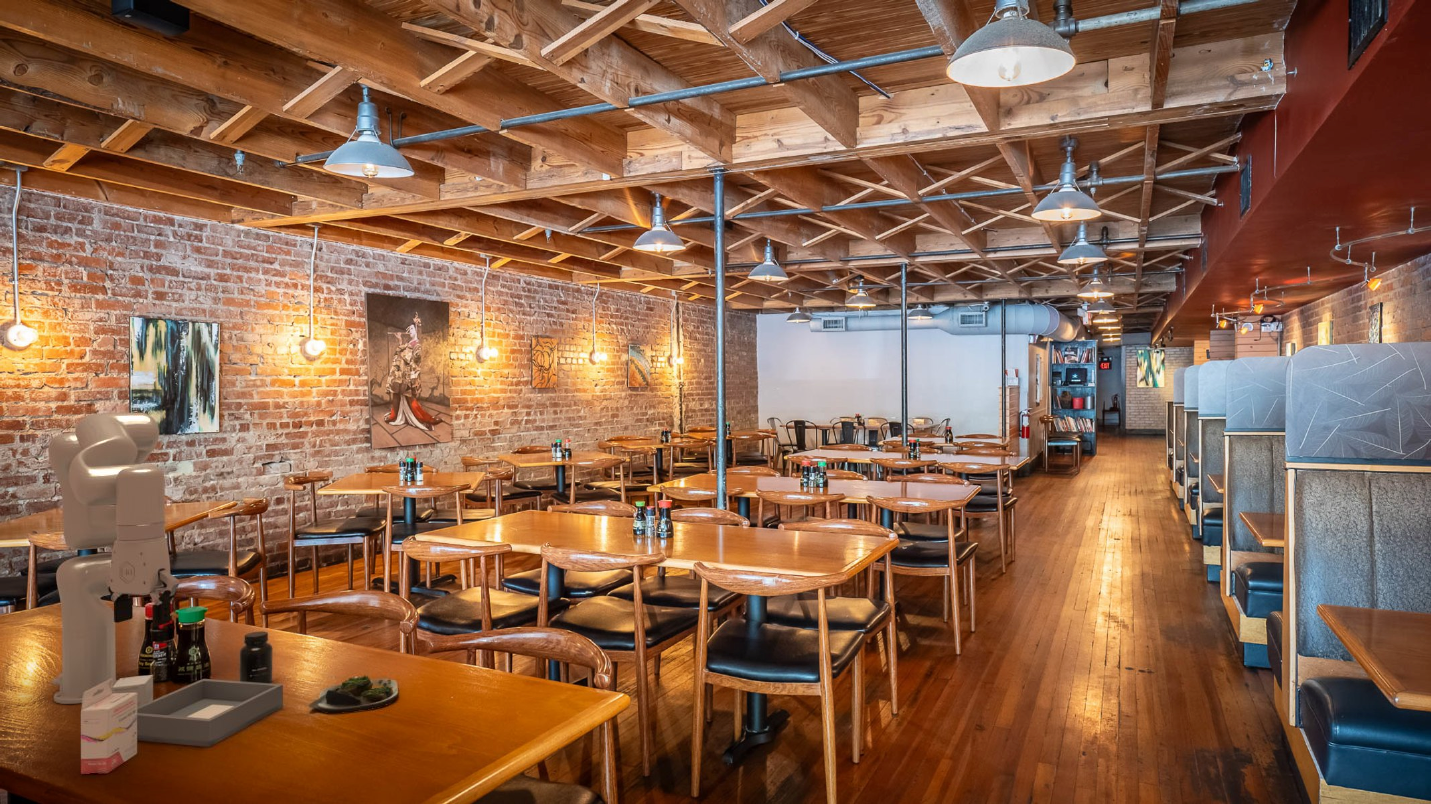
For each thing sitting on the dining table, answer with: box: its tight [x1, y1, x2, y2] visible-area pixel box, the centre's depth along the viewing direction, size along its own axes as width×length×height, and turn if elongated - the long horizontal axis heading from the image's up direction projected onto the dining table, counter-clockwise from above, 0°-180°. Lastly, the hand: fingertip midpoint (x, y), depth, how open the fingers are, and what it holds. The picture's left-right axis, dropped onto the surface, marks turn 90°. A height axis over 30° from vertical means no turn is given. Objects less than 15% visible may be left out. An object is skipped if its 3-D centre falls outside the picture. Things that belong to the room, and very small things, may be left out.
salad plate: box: [308, 675, 399, 714], centre depth 182 cm, size 19×18×5 cm
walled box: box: [137, 678, 284, 748], centre depth 168 cm, size 20×20×5 cm
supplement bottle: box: [238, 631, 274, 684], centre depth 189 cm, size 7×7×12 cm
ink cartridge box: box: [80, 678, 138, 775], centre depth 149 cm, size 9×5×15 cm, turn 5°
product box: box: [112, 674, 154, 707], centre depth 172 cm, size 6×6×7 cm
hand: (142, 622), depth 153 cm, fingers open, 9 cm apart
